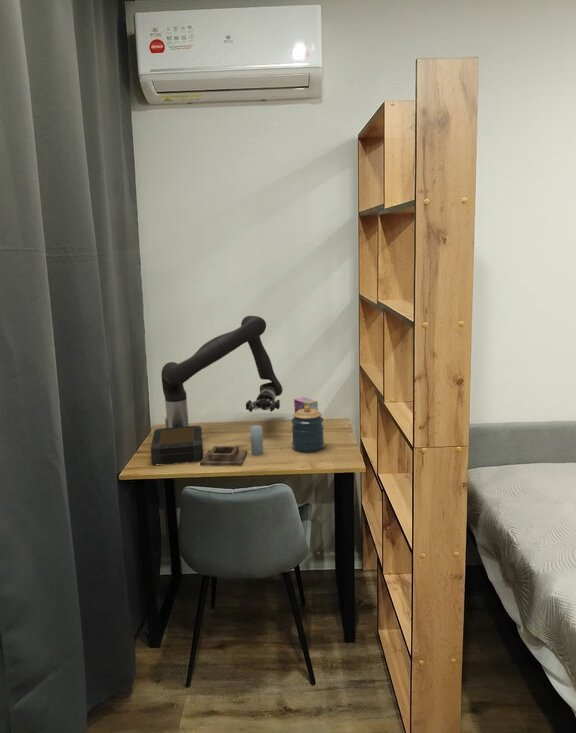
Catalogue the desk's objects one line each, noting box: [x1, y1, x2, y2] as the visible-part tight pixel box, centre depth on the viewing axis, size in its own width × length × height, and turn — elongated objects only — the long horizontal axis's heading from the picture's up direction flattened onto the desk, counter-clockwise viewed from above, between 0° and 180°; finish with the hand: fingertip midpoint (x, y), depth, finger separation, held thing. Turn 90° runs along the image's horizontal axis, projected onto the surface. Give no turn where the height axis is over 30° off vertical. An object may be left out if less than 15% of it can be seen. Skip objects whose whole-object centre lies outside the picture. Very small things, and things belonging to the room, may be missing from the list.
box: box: [293, 396, 319, 413], centre depth 278 cm, size 10×6×12 cm, turn 37°
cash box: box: [150, 425, 204, 466], centre depth 247 cm, size 25×20×8 cm
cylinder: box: [249, 424, 264, 456], centre depth 243 cm, size 5×5×11 cm
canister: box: [291, 406, 325, 453], centre depth 247 cm, size 13×13×18 cm
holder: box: [199, 445, 248, 467], centre depth 238 cm, size 16×14×4 cm
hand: (260, 409), depth 253 cm, fingers open, 8 cm apart
